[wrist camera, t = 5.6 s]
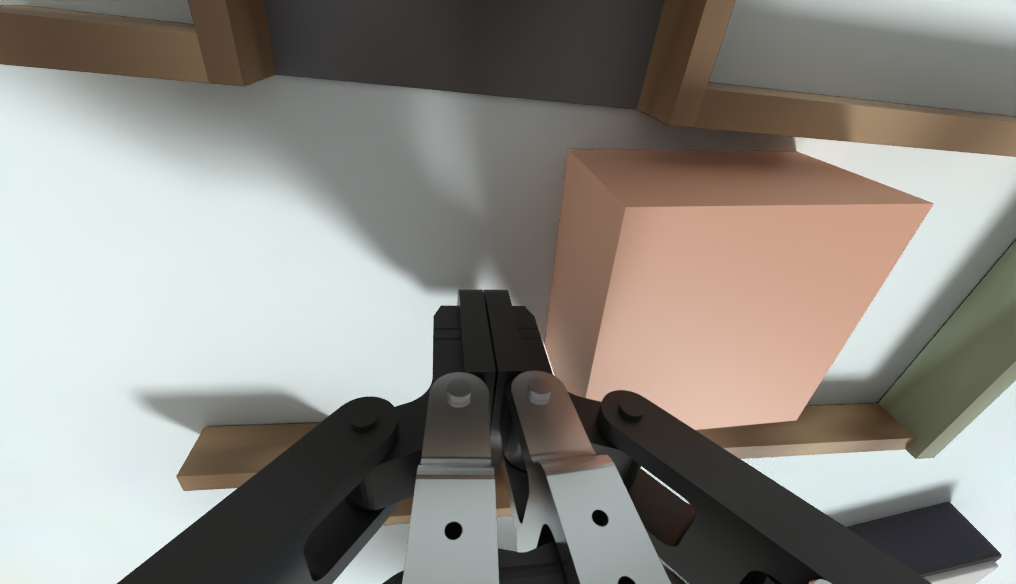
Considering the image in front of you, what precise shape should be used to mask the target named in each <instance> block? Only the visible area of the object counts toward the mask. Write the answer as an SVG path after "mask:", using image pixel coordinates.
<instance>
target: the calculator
mask: <svg viewBox="0 0 1016 584" xmlns="http://www.w3.org/2000/svg"><path fill="white" fill-rule="evenodd" d="M846 528H847V529H849V530H851V531H852V532H854V533H855V534H857V535H858V536H860V537H861V538H863V539H865V540H866V541H868V542H869V543H871V544H872V545H874V546H875V547H877V548H878V549H880V550H882V551H883V552H885V553H886V554H888V555H889V556H891V557H892V558H894V559H895V560H897V561H899V562H900V563H902V564H903V565H905V566H906V567H908V568H909V569H911V570H913V571H914V572H916V573H917V574H919V575H920V576H922V577H923V578H925V579H926V580H928V581H929V582H930V583H932V584H975V583H977V582H978V581H980V580H981V579H982V578H984V577H985V576H987V575H988V574H989V573H991V572H992V571H994V570H995V569H996V568H998V565H997V564H996V563H995V562H996V561H997V560H998V559H1000V558H1001V554H1000V552H999V551H998V550H997V549H996V548H995V547H994V546H993V545H992V544H991V543H990V542H989V541H988V540H987V539H986V538H985V537H984V536H983V535H982V534H981V533H980V532H979V531H978V530H977V529H976V528H975V527H974V526H973V525H972V524H971V523H970V522H969V521H968V520H967V519H966V518H965V517H964V516H963V515H962V514H961V513H960V512H959V511H958V510H957V509H956V508H955V507H954V506H953V505H952V504H951V503H950V502H946V503H942V504H937V505H933V506H929V507H925V508H921V509H917V510H913V511H909V512H905V513H901V514H897V515H893V516H889V517H885V518H881V519H877V520H873V521H869V522H865V523H861V524H857V525H853V526H849V527H846Z"/></svg>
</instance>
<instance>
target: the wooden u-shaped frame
mask: <svg viewBox="0 0 1016 584" xmlns="http://www.w3.org/2000/svg"><path fill="white" fill-rule="evenodd" d="M188 2H189V6H190V10H191V14H192V18H193V22H194V24H185V23H176V22H167V21H158V20H149V19H140V18H131V17H122V16H113V15H104V14H95V13H87V12H78V11H69V10H60V9H51V8H42V7H33V6H24V5H0V64H4V65H15V66H26V67H37V68H48V69H59V70H70V71H81V72H91V73H102V74H113V75H124V76H135V77H146V78H157V79H168V80H179V81H190V82H201V83H212V84H223V85H234V86H246V85H249V84H252V83H254V82H257V81H260V80H263V79H265V78H268V77H271V76H273V75H276V74H277V75H288V76H298V77H308V78H319V79H329V80H339V81H350V82H360V83H370V84H381V85H391V86H401V87H412V88H422V89H432V90H443V91H453V92H463V93H474V94H484V95H494V96H505V97H515V98H525V99H536V100H546V101H556V102H566V103H577V104H587V105H597V106H608V107H618V108H628V109H637V110H639V111H641V112H643V113H645V114H647V115H649V116H652V117H654V118H656V119H658V120H660V121H662V122H664V123H666V124H668V125H673V126H684V127H694V128H705V129H716V130H727V131H738V132H749V133H760V134H771V135H782V136H793V137H804V138H815V139H826V140H837V141H848V142H859V143H870V144H881V145H892V146H903V147H914V148H925V149H936V150H947V151H958V152H969V153H980V154H991V155H1001V156H1012V157H1016V117H1014V116H1005V115H996V114H987V113H978V112H970V111H961V110H952V109H943V108H934V107H925V106H916V105H907V104H898V103H889V102H880V101H871V100H863V99H854V98H845V97H836V96H827V95H818V94H809V93H800V92H791V91H782V90H773V89H764V88H755V87H747V86H738V85H729V84H720V83H711V82H709V79H710V76H711V73H712V70H713V67H714V64H715V61H716V58H717V55H718V52H719V49H720V46H721V43H722V40H723V37H724V34H725V31H726V28H727V25H728V22H729V19H730V16H731V12H732V9H733V6H734V3H735V0H188ZM1015 380H1016V241H1015V242H1014V243H1013V244H1012V245H1011V246H1010V248H1009V249H1008V250H1007V251H1006V252H1005V254H1004V255H1003V256H1002V257H1001V258H1000V259H999V261H998V262H997V263H996V264H995V265H994V267H993V268H992V269H991V270H990V271H989V272H988V274H987V275H986V276H985V277H984V278H983V280H982V281H981V282H980V283H979V284H978V285H977V287H976V288H975V289H974V290H973V291H972V293H971V294H970V295H969V296H968V297H967V298H966V300H965V301H964V302H963V303H962V304H961V306H960V307H959V308H958V309H957V310H956V311H955V313H954V314H953V315H952V316H951V317H950V319H949V320H948V321H947V322H946V323H945V325H944V326H943V327H942V328H941V329H940V330H939V332H938V333H937V334H936V335H935V336H934V338H933V339H932V340H931V341H930V342H929V343H928V345H927V346H926V347H925V348H924V349H923V351H922V352H921V353H920V354H919V355H918V356H917V358H916V359H915V360H914V361H913V362H912V364H911V365H910V366H909V367H908V368H907V369H906V371H905V372H904V373H903V374H902V375H901V377H900V378H899V379H898V380H897V381H896V382H895V384H894V385H893V386H892V387H891V388H890V390H889V391H888V392H887V393H886V394H885V395H884V397H883V398H882V399H881V400H880V401H879V403H876V404H847V405H818V406H805V408H804V409H803V411H802V412H801V414H800V416H799V417H798V419H797V420H796V421H785V422H774V423H764V424H753V425H742V426H732V427H721V428H710V429H700V430H696V431H697V432H699V433H700V434H702V435H704V436H705V437H707V438H708V439H710V440H711V441H713V442H714V443H716V444H717V445H719V446H721V447H722V448H724V449H725V450H727V451H728V452H730V453H731V454H733V455H734V456H736V457H738V458H739V459H745V458H763V457H780V456H797V455H814V454H832V453H849V452H866V451H884V450H901V449H906V450H907V451H908V452H909V453H910V454H911V455H912V456H913V457H914V458H915V459H921V458H934V457H935V456H936V455H937V454H938V453H939V452H940V451H941V450H942V449H944V448H945V447H946V446H947V445H948V444H949V443H950V442H951V441H952V440H953V439H954V438H955V437H956V436H957V435H958V434H959V433H960V432H962V431H963V430H964V429H965V428H966V427H967V426H968V425H969V424H970V423H971V422H972V421H973V420H974V419H975V418H976V417H977V416H978V415H979V414H981V413H982V412H983V411H984V410H985V409H986V408H987V407H988V406H989V405H990V404H991V403H992V402H993V401H994V400H995V399H996V398H997V397H999V396H1000V395H1001V394H1002V393H1003V392H1004V391H1005V390H1006V389H1007V388H1008V387H1009V386H1010V385H1011V384H1012V383H1013V382H1014V381H1015ZM318 424H320V423H301V424H272V425H243V426H215V427H204V429H203V431H202V432H201V434H200V436H199V438H198V439H197V441H196V443H195V445H194V446H193V448H192V450H191V452H190V453H189V455H188V457H187V459H186V461H185V462H184V464H183V466H182V468H181V469H180V471H179V473H178V475H177V476H176V477H177V479H178V481H179V483H180V485H181V487H182V488H183V490H184V491H192V490H209V489H227V488H239V487H240V486H241V485H242V484H244V483H245V482H246V481H248V480H249V479H250V478H251V477H253V476H254V475H255V474H256V473H258V472H259V471H260V470H261V469H263V468H264V467H265V466H267V465H268V464H269V463H270V462H272V461H273V460H274V459H275V458H277V457H278V456H279V455H280V454H282V453H283V452H284V451H286V450H287V449H288V448H289V447H291V446H292V445H293V444H294V443H296V442H297V441H298V440H299V439H301V438H302V437H303V436H305V435H306V434H307V433H308V432H310V431H311V430H312V429H313V428H315V427H316V426H317V425H318ZM490 447H491V464H493V466H494V473H495V494H496V517H500V516H512V512H511V507H510V503H509V498H508V494H507V489H506V485H505V480H504V476H503V472H502V467H501V462H500V458H501V451H502V442H501V435H494V436H490ZM413 498H414V496H412V497H409V498H407V499H404V500H402V501H400V503H399V505H398V507H397V508H396V510H395V511H394V512H393V513H392V514H391V516H390V517H389V518H388V519H387V520H386V521H385V523H384V524H383V525H394V524H408V523H410V520H411V513H412V505H413Z"/></svg>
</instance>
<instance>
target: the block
mask: <svg viewBox="0 0 1016 584" xmlns="http://www.w3.org/2000/svg"><path fill="white" fill-rule="evenodd" d="M933 204H934V203H931V202H928V201H926V200H923V199H920V198H918V197H915V196H913V195H910V194H907V193H905V192H902V191H899V190H897V189H894V188H891V187H889V186H886V185H884V184H881V183H878V182H876V181H873V180H870V179H868V178H865V177H862V176H860V175H857V174H855V173H852V172H849V171H847V170H844V169H841V168H839V167H836V166H833V165H831V164H828V163H826V162H823V161H820V160H818V159H815V158H812V157H810V156H807V155H804V154H802V153H799V152H797V151H715V150H627V149H568V156H567V164H566V172H565V180H564V188H563V197H562V205H561V213H560V221H559V229H558V238H557V246H556V254H555V262H554V270H553V279H552V287H551V295H550V303H549V311H548V320H547V328H546V336H545V347H546V350H547V353H548V356H549V359H550V362H551V365H552V368H553V371H554V374H555V377H557V378H558V379H559V380H560V381H562V383H563V384H564V385H565V387H566V389H567V391H568V392H570V393H572V394H574V395H576V396H580V397H583V398H588V399H592V400H596V401H601V402H602V400H603V398H604V397H605V395H607V394H608V393H610V392H612V391H616V390H626V391H631V392H634V393H637V394H639V395H641V396H643V397H645V398H646V399H648V400H649V401H651V402H652V403H654V404H656V405H657V406H659V407H660V408H662V409H663V410H665V411H666V412H668V413H669V414H671V415H673V416H674V417H676V418H677V419H679V420H680V421H682V422H683V423H685V424H686V425H688V426H690V427H691V428H693V429H694V430H700V429H710V428H721V427H732V426H742V425H753V424H764V423H774V422H785V421H796V420H797V419H798V417H799V416H800V414H801V412H802V411H803V409H804V408H805V406H806V405H807V403H808V401H809V400H810V398H811V397H812V395H813V394H814V392H815V390H816V389H817V387H818V386H819V384H820V382H821V381H822V379H823V378H824V376H825V375H826V373H827V371H828V370H829V368H830V367H831V365H832V364H833V362H834V360H835V359H836V357H837V356H838V354H839V352H840V351H841V349H842V348H843V346H844V345H845V343H846V341H847V340H848V338H849V337H850V335H851V333H852V332H853V330H854V329H855V327H856V326H857V324H858V322H859V321H860V319H861V318H862V316H863V315H864V313H865V311H866V310H867V308H868V307H869V305H870V303H871V302H872V300H873V299H874V297H875V296H876V294H877V292H878V291H879V289H880V288H881V286H882V285H883V283H884V281H885V280H886V278H887V277H888V275H889V273H890V272H891V270H892V269H893V267H894V266H895V264H896V262H897V261H898V259H899V258H900V256H901V254H902V253H903V251H904V250H905V248H906V247H907V245H908V243H909V242H910V240H911V239H912V237H913V236H914V234H915V232H916V231H917V229H918V228H919V226H920V224H921V223H922V221H923V220H924V218H925V217H926V215H927V213H928V212H929V210H930V209H931V207H932V206H933Z"/></svg>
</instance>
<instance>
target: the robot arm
mask: <svg viewBox="0 0 1016 584" xmlns="http://www.w3.org/2000/svg"><path fill="white" fill-rule="evenodd" d="M494 435H501V442H502V451H501V458H500V462H501V467H502V472H503V476H504V480H505V485H506V489H507V494H508V498H509V503H510V507H511V512H512V516H513V521H514V525H515V530H516V537H517V552H514V551H509V550H504V549H498V544H497V519H496V494H495V473H494V466H493V464H491V447H490V436H494ZM641 466H642V467H644V468H645V469H646V470H648V471H649V472H650V473H652V474H653V475H654V476H656V477H657V478H658V479H660V480H661V481H662V482H664V483H665V484H666V485H668V486H669V487H670V488H672V489H673V490H674V491H676V492H677V493H678V494H680V495H681V496H682V497H684V498H685V499H686V500H687V501H688V502H689V503H690V504H691V505H690V504H688V503H686V502H684V501H683V500H682V499H680V498H679V497H678V496H676V495H675V494H674V493H672V492H671V491H670V490H668V489H667V488H666V487H664V486H663V485H662V484H660V483H659V482H658V481H656V480H655V479H654V478H653V477H651V476H650V475H649V474H647V473H646V472H645V471H643V470H642V469H641V468H640V467H641ZM412 496H414V498H413V505H412V513H411V520H410V528H409V536H408V543H407V551H406V559H405V566H404V570H403V571H401V572H399V573H397V574H396V575H394V576H393V577H391V578H390V579H388V580H387V581H385V582H384V583H383V584H686V583H685V582H684V581H682V580H681V579H680V578H679V577H678V576H677V575H676V574H675V573H673V572H672V571H671V570H670V569H668V568H667V567H665V566H664V565H663V564H662V563H661V561H660V559H659V557H660V558H661V559H662V560H663V561H664V562H665V563H666V564H668V565H669V566H670V567H671V568H672V569H673V570H675V571H676V572H677V573H678V574H679V575H680V576H682V577H683V578H684V579H685V580H686V581H687V582H689V583H690V584H932V583H930V582H929V581H928V580H926V579H925V578H923V577H922V576H920V575H919V574H917V573H916V572H914V571H913V570H911V569H909V568H908V567H906V566H905V565H903V564H902V563H900V562H899V561H897V560H895V559H894V558H892V557H891V556H889V555H888V554H886V553H885V552H883V551H882V550H880V549H878V548H877V547H875V546H874V545H872V544H871V543H869V542H868V541H866V540H865V539H863V538H861V537H860V536H858V535H857V534H855V533H854V532H852V531H851V530H849V529H847V528H846V527H844V526H843V525H841V524H840V523H838V522H837V521H835V520H834V519H832V518H830V517H829V516H827V515H826V514H824V513H823V512H821V511H820V510H818V509H817V508H815V507H813V506H812V505H810V504H809V503H807V502H806V501H804V500H803V499H801V498H800V497H798V496H796V495H795V494H793V493H792V492H790V491H789V490H787V489H786V488H784V487H782V486H781V485H779V484H778V483H776V482H775V481H773V480H772V479H770V478H769V477H767V476H765V475H764V474H762V473H761V472H759V471H758V470H756V469H755V468H753V467H752V466H750V465H748V464H747V463H745V462H744V461H742V460H741V459H739V458H738V457H736V456H734V455H733V454H731V453H730V452H728V451H727V450H725V449H724V448H722V447H721V446H719V445H717V444H716V443H714V442H713V441H711V440H710V439H708V438H707V437H705V436H704V435H702V434H700V433H699V432H697V431H696V430H694V429H693V428H691V427H690V426H688V425H686V424H685V423H683V422H682V421H680V420H679V419H677V418H676V417H674V416H673V415H671V414H669V413H668V412H666V411H665V410H663V409H662V408H660V407H659V406H657V405H656V404H654V403H652V402H651V401H649V400H648V399H646V398H645V397H643V396H641V395H639V394H637V393H634V392H631V391H626V390H616V391H612V392H610V393H608V394H607V395H605V397H604V398H603V400H602V402H601V401H596V400H592V399H588V398H583V397H580V396H576V395H574V394H572V393H570V392H568V391H567V389H566V387H565V385H564V384H563V383H562V381H560V380H559V379H558V378H557V377H555V376H554V375H553V374H552V371H551V368H550V365H549V361H548V358H547V355H546V352H545V349H544V346H543V342H542V340H541V336H540V333H539V330H538V327H537V324H536V320H535V317H534V316H533V315H532V314H531V313H530V311H529V310H528V309H527V308H526V307H525V306H512V304H511V300H510V296H509V292H508V290H465V289H459V290H458V303H457V306H440V308H439V309H438V311H437V312H436V314H435V315H434V331H433V380H432V383H431V386H430V388H429V389H428V390H427V392H426V393H425V394H423V395H422V396H421V397H419V398H418V399H416V400H414V401H412V402H409V403H406V404H403V405H400V406H396V407H394V406H393V405H392V404H391V403H390V402H388V401H387V400H385V399H382V398H379V397H361V398H357V399H354V400H352V401H349V402H348V403H346V404H344V405H343V406H341V407H340V408H339V409H337V410H336V411H335V412H334V413H332V414H331V415H330V416H329V417H327V418H326V419H325V420H324V421H322V422H321V423H320V424H318V425H317V426H316V427H315V428H313V429H312V430H311V431H310V432H308V433H307V434H306V435H305V436H303V437H302V438H301V439H299V440H298V441H297V442H296V443H294V444H293V445H292V446H291V447H289V448H288V449H287V450H286V451H284V452H283V453H282V454H280V455H279V456H278V457H277V458H275V459H274V460H273V461H272V462H270V463H269V464H268V465H267V466H265V467H264V468H263V469H261V470H260V471H259V472H258V473H256V474H255V475H254V476H253V477H251V478H250V479H249V480H248V481H246V482H245V483H244V484H242V485H241V486H240V487H239V488H237V489H236V490H235V491H234V492H232V493H231V494H230V495H229V496H227V497H226V498H225V499H223V500H222V501H221V502H220V503H218V504H217V505H216V506H215V507H213V508H212V509H211V510H210V511H208V512H207V513H206V514H204V515H203V516H202V517H201V518H199V519H198V520H197V521H196V522H194V523H193V524H192V525H191V526H189V527H188V528H187V529H186V530H184V531H183V532H182V533H180V534H179V535H178V536H177V537H175V538H174V539H173V540H172V541H170V542H169V543H168V544H167V545H165V546H164V547H163V548H161V549H160V550H159V551H158V552H156V553H155V554H154V555H153V556H151V557H150V558H149V559H148V560H146V561H145V562H144V563H142V564H141V565H140V566H139V567H137V568H136V569H135V570H134V571H132V572H131V573H130V574H129V575H127V576H126V577H125V578H123V579H122V580H121V581H120V582H118V583H117V584H332V583H333V582H334V581H335V580H336V579H337V577H338V576H339V575H340V574H341V573H342V572H343V570H344V569H345V568H346V567H347V566H348V565H349V563H350V562H351V561H352V560H353V559H354V558H355V556H356V555H357V554H358V553H359V552H360V551H361V549H362V548H363V547H364V546H365V545H366V544H367V542H368V541H369V540H370V539H371V538H372V537H373V535H374V534H375V533H376V532H377V531H378V530H379V528H380V527H381V526H382V525H383V524H384V523H385V521H386V520H387V519H388V518H389V517H390V516H391V514H392V513H393V512H394V511H395V510H396V508H397V507H398V505H399V503H400V501H402V500H404V499H407V498H409V497H412Z"/></svg>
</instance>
